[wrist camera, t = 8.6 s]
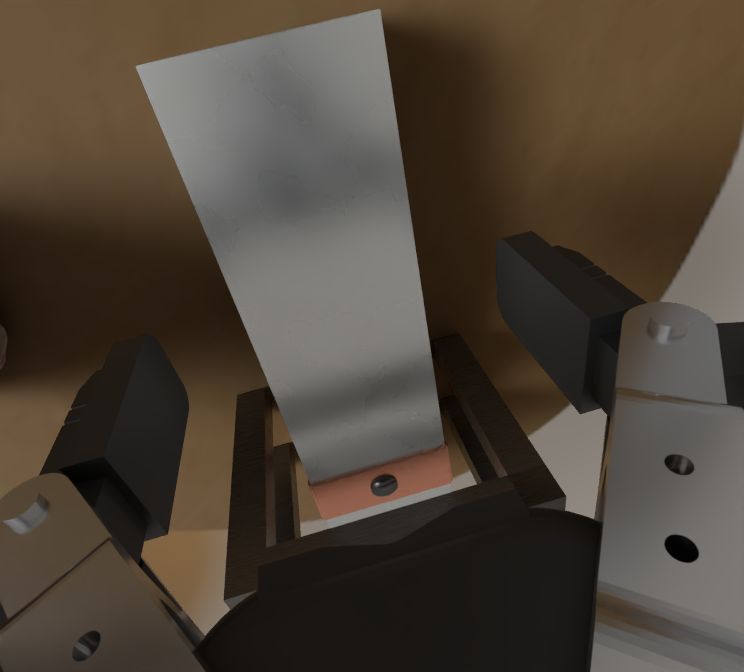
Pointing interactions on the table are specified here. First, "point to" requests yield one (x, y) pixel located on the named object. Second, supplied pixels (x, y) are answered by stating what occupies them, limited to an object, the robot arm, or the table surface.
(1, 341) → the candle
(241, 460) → the collar
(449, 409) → the collar
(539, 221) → the table surface
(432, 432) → the brushed metal post
